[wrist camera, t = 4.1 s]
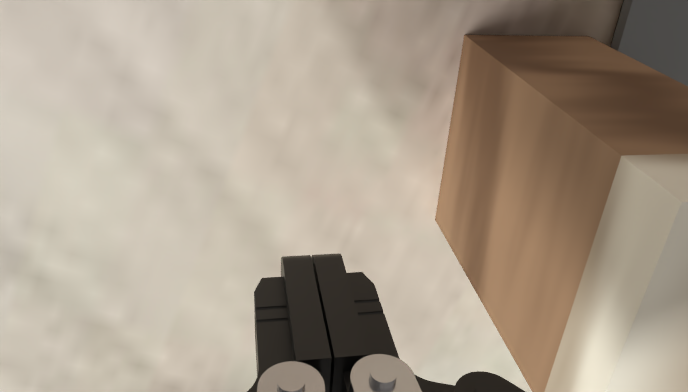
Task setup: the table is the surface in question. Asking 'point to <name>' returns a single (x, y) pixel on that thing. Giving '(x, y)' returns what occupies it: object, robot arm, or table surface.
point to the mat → (655, 35)
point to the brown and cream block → (572, 210)
